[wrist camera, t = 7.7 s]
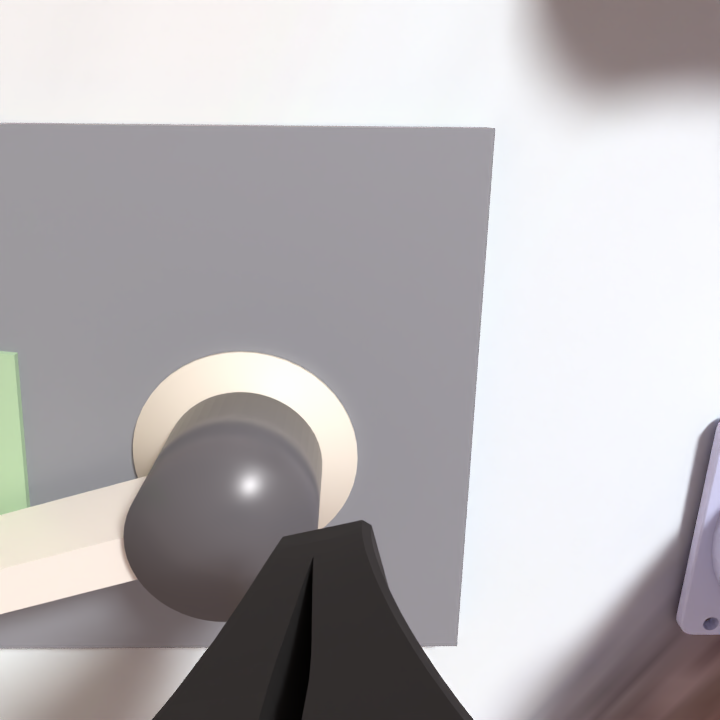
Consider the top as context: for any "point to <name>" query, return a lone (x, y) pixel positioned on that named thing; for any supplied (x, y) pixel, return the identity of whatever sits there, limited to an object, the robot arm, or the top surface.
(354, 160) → the board
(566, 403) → the top surface
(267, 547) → the peg dial
